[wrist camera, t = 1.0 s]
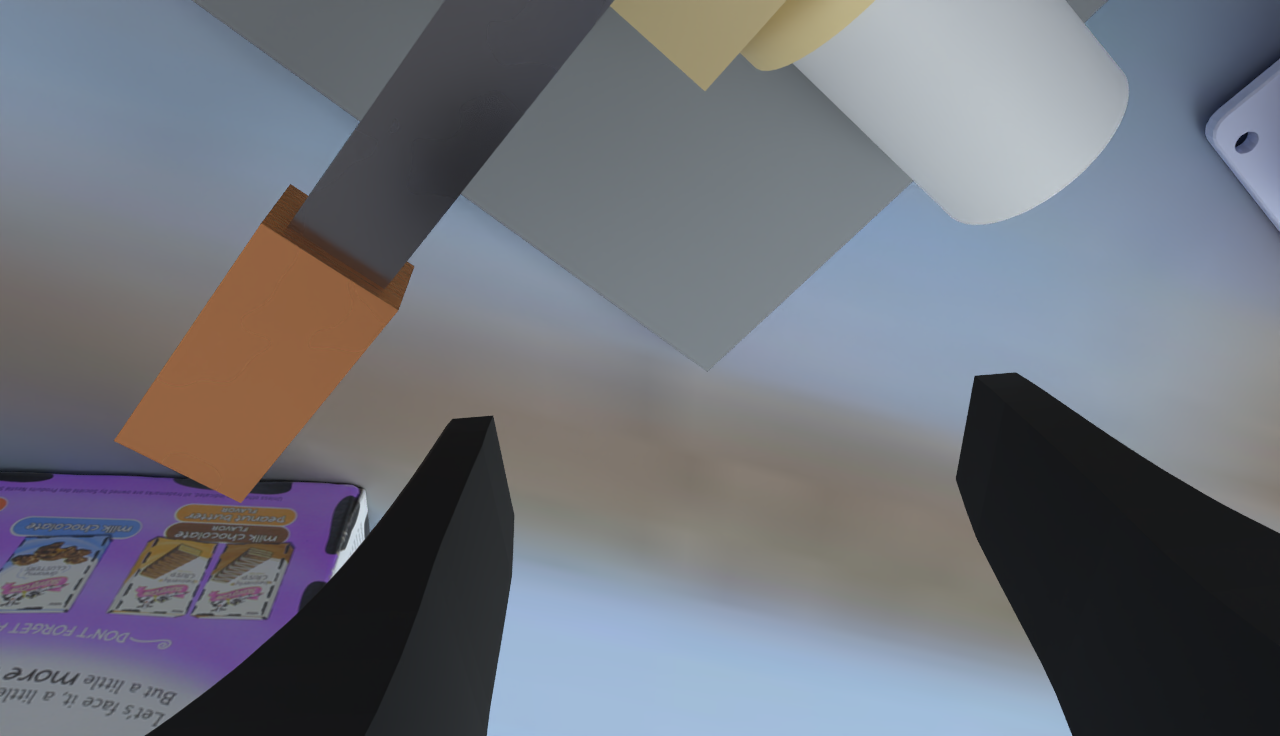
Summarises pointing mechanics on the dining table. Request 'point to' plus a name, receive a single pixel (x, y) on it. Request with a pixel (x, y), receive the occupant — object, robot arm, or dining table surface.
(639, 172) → the valve base
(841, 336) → the dining table surface
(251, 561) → the candy box
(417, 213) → the valve lever
